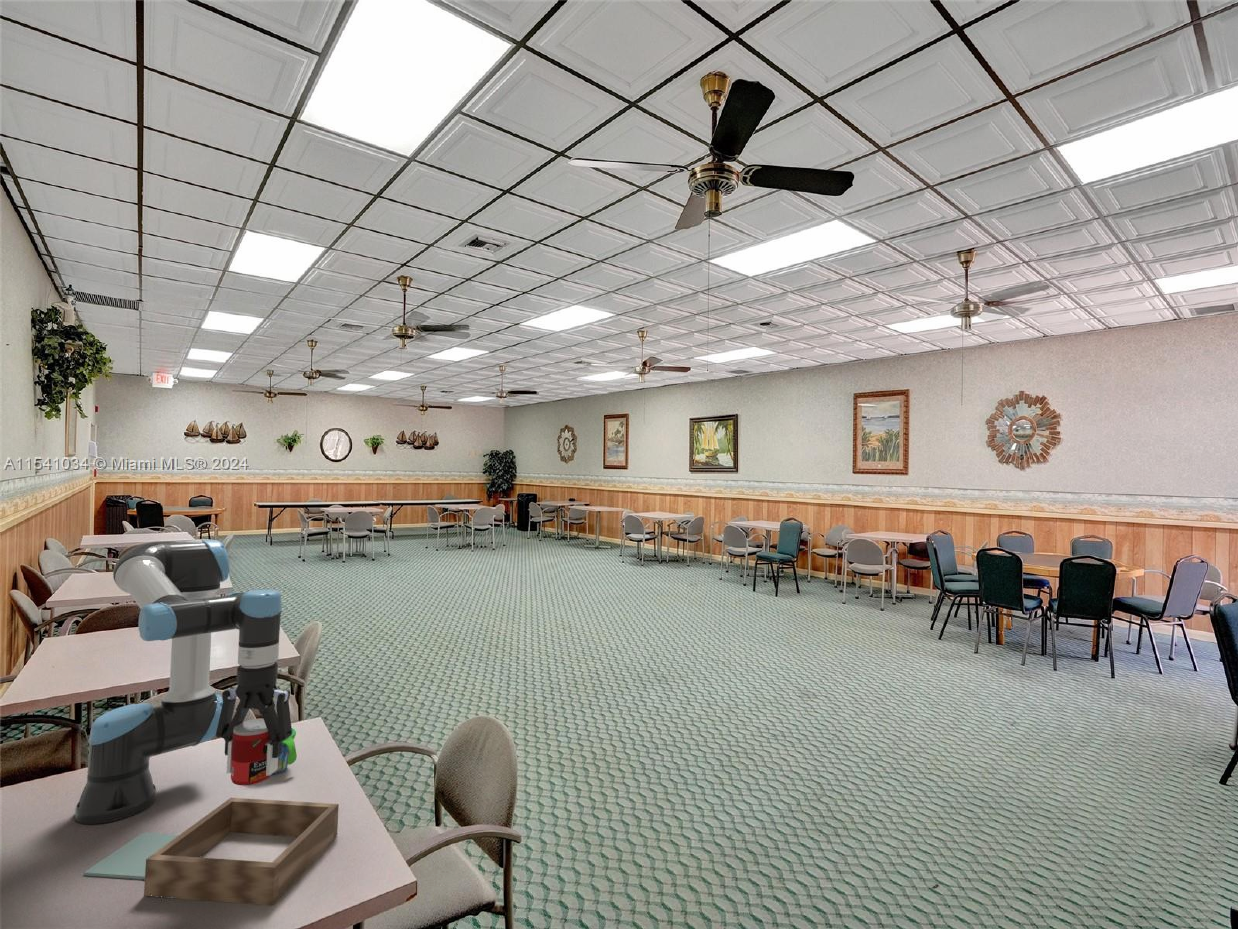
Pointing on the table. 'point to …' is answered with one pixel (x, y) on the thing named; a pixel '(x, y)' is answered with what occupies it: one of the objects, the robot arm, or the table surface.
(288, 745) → the snack cup
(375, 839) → the table surface
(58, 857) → the table surface
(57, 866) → the table surface
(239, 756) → the canned food
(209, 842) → the frame
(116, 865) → the mat
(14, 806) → the table surface
